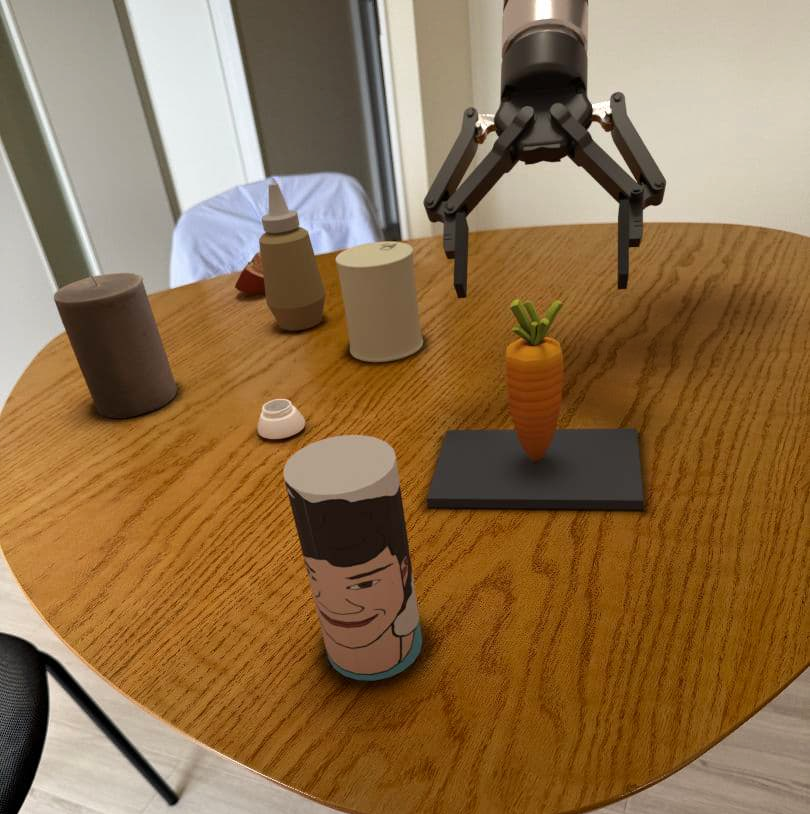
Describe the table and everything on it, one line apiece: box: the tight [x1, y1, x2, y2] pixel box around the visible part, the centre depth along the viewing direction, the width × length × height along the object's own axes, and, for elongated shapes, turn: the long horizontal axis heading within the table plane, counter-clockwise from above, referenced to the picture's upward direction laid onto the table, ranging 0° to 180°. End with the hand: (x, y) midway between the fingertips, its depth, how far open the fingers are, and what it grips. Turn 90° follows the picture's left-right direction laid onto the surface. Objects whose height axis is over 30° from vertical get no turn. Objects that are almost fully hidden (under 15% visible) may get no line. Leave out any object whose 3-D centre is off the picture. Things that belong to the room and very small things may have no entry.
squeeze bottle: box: [258, 182, 326, 331], centre depth 102 cm, size 8×8×18 cm
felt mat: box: [426, 427, 645, 511], centre depth 70 cm, size 18×12×1 cm, turn 79°
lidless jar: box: [256, 398, 306, 440], centre depth 82 cm, size 5×3×5 cm
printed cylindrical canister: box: [283, 434, 423, 682], centre depth 51 cm, size 7×7×15 cm
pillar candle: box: [53, 272, 178, 419], centre depth 89 cm, size 10×10×15 cm
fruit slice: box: [234, 251, 265, 295], centre depth 119 cm, size 8×7×5 cm
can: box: [335, 241, 424, 363], centre depth 94 cm, size 9×9×12 cm
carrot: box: [504, 298, 565, 462], centre depth 66 cm, size 5×5×15 cm
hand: (539, 287), depth 66 cm, fingers open, 13 cm apart
